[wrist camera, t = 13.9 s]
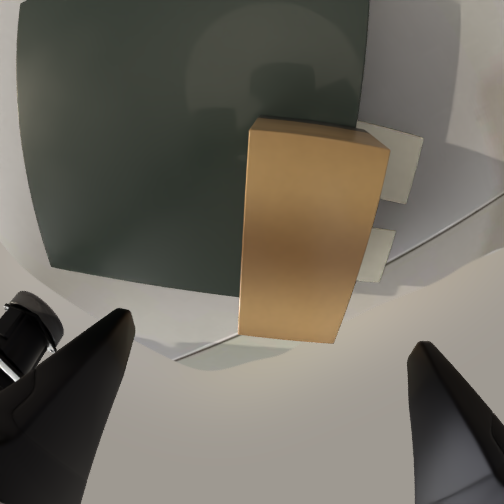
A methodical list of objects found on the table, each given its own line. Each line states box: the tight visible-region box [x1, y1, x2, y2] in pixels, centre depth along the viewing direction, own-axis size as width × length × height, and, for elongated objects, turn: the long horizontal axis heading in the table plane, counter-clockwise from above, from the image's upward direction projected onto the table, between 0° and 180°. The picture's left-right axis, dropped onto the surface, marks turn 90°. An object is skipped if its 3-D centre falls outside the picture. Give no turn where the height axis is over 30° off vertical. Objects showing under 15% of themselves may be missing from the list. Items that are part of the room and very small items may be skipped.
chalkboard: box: [16, 0, 369, 297], centre depth 14 cm, size 20×20×2 cm
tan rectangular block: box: [238, 115, 390, 344], centre depth 14 cm, size 10×5×4 cm, turn 176°
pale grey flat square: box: [356, 228, 396, 282], centre depth 18 cm, size 4×4×1 cm
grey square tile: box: [356, 121, 424, 204], centre depth 15 cm, size 4×4×1 cm
